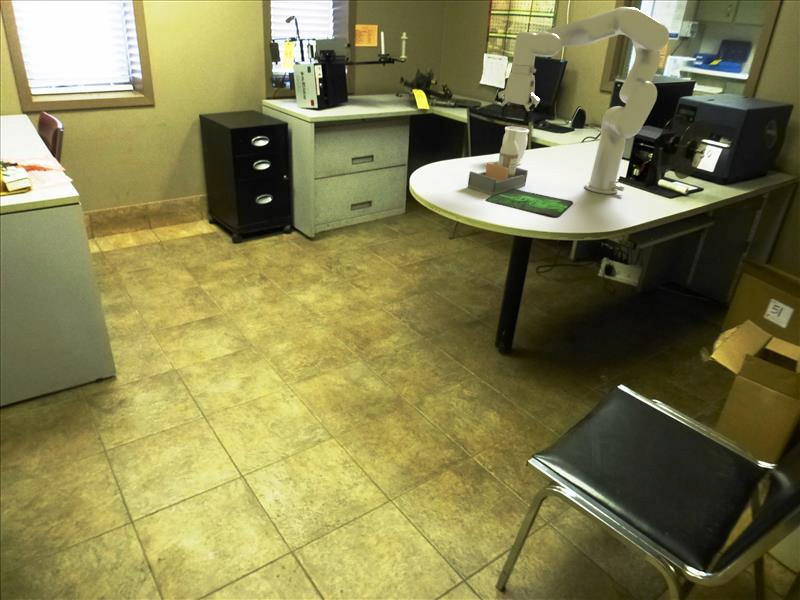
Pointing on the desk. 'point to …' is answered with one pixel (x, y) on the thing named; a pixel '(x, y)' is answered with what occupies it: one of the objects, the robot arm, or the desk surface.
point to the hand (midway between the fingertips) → (515, 119)
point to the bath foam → (509, 153)
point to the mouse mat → (531, 202)
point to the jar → (518, 140)
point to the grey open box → (491, 186)
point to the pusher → (496, 172)
